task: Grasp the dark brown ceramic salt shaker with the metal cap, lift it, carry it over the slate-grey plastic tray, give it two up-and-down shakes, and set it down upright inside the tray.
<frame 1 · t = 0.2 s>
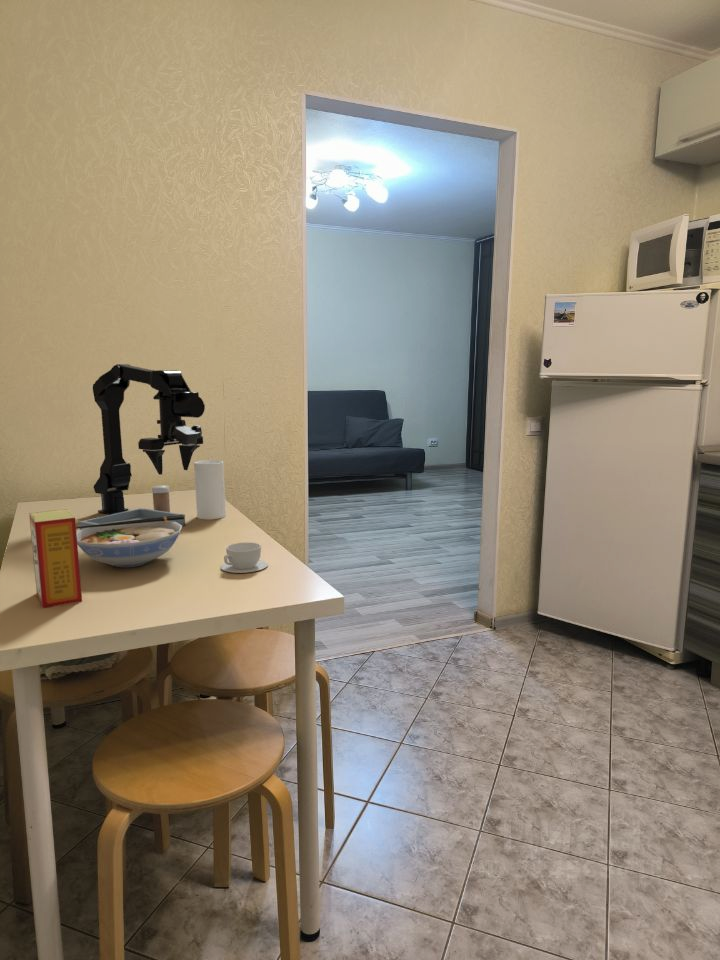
hand: (173, 472, 183), 14 cm above the table, fingers open, 9 cm apart
shaker: (162, 515, 193), on the table
tray: (133, 528, 176), on the table
teacup: (244, 568, 140), on the table
baking soda box: (59, 598, 123), on the table
cup: (211, 516, 191), on the table
ramen bowl: (130, 563, 144), on the table
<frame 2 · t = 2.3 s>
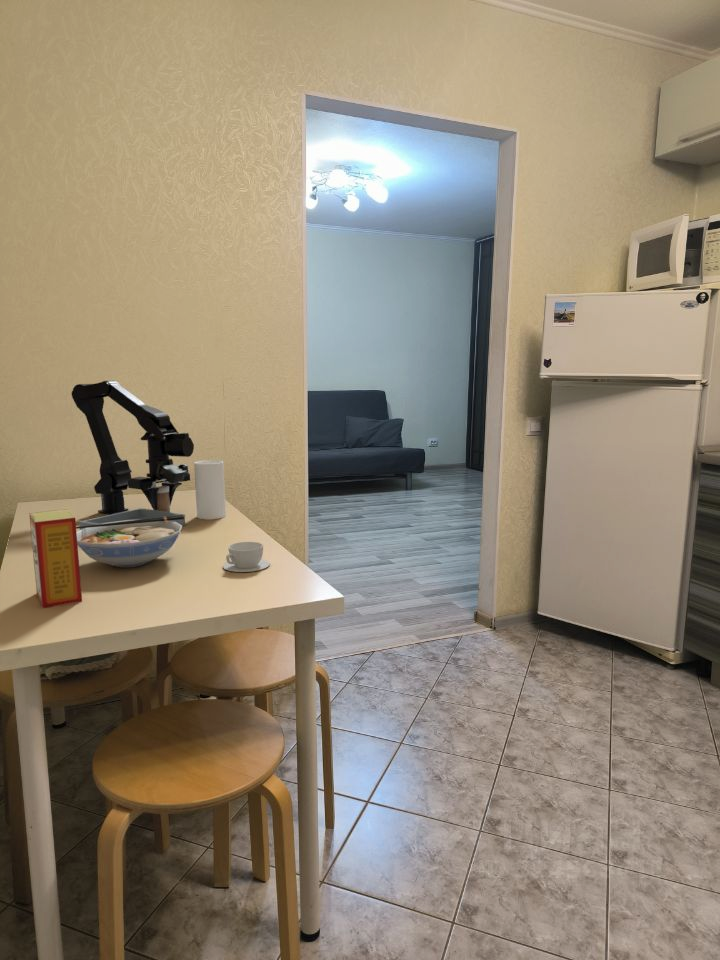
hand: (161, 508, 193), 2 cm above the table, fingers closed on shaker, 5 cm apart
shaker: (162, 515, 193), on the table, touching gripper
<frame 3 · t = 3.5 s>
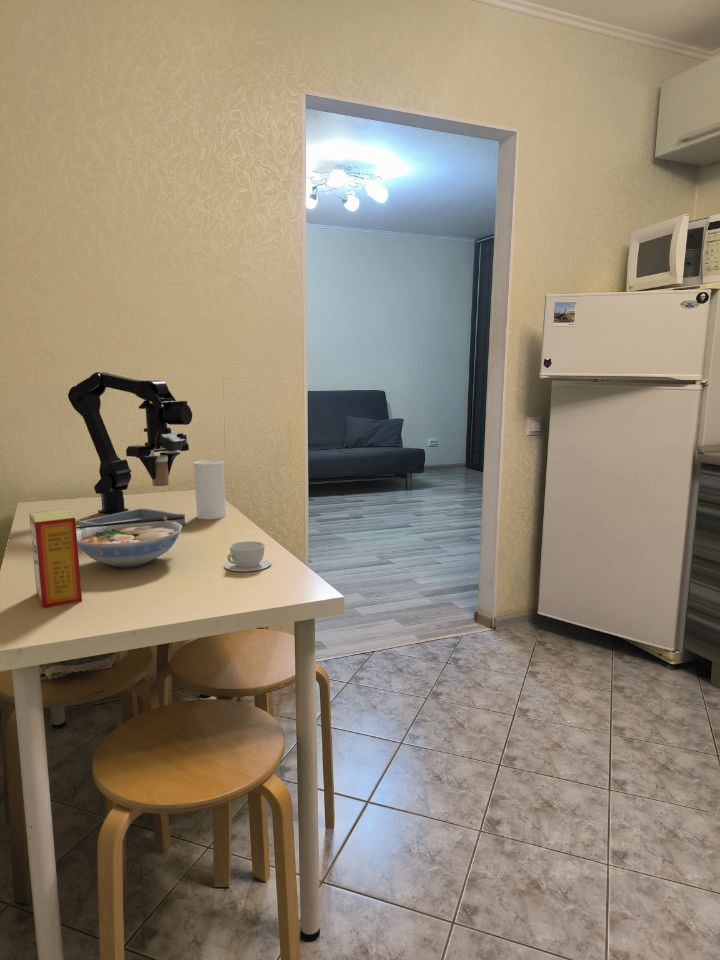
hand: (160, 477, 192), 11 cm above the table, fingers closed on shaker, 5 cm apart
shaker: (160, 484, 192), point 9 cm above the table, touching gripper
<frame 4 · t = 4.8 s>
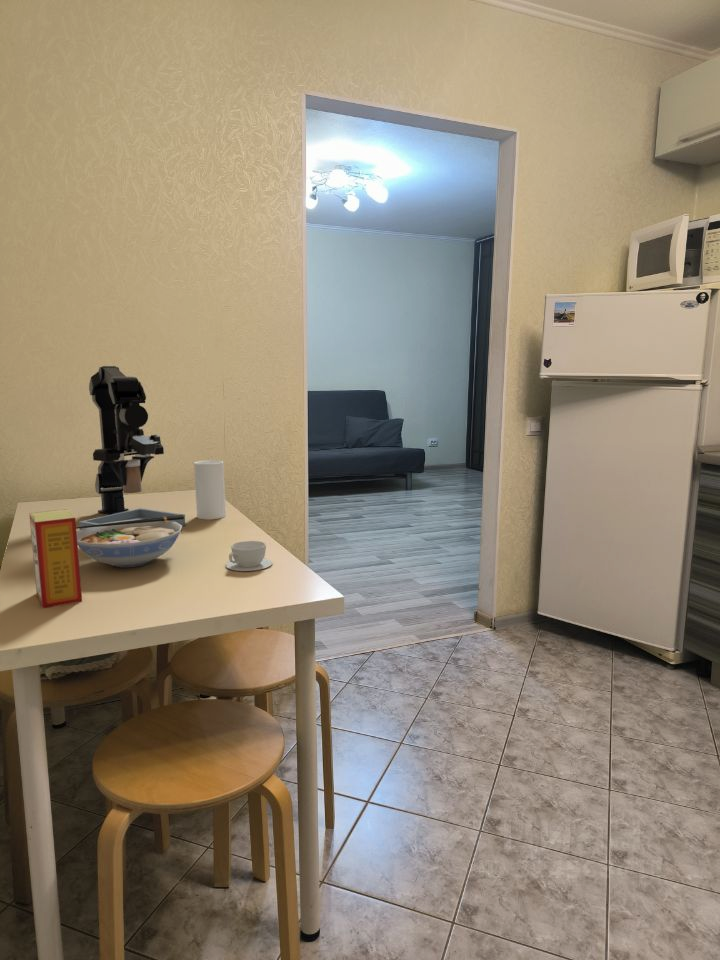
hand: (131, 484, 175), 12 cm above the table, fingers closed on shaker, 5 cm apart
shaker: (132, 491, 175), point 10 cm above the table, touching gripper
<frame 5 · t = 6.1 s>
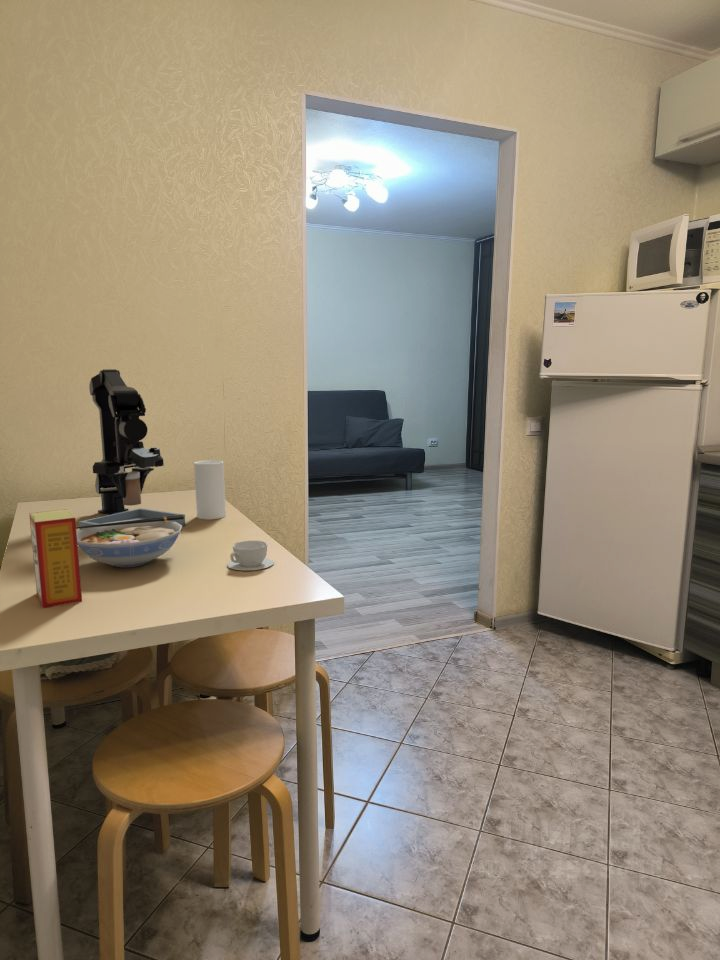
hand: (131, 496, 175), 9 cm above the table, fingers closed on shaker, 5 cm apart
shaker: (132, 503, 175), point 7 cm above the table, touching gripper
when the fingers open (4 cm above the table, at t = 7.2 s): shaker drops 1 cm, resting on tray.
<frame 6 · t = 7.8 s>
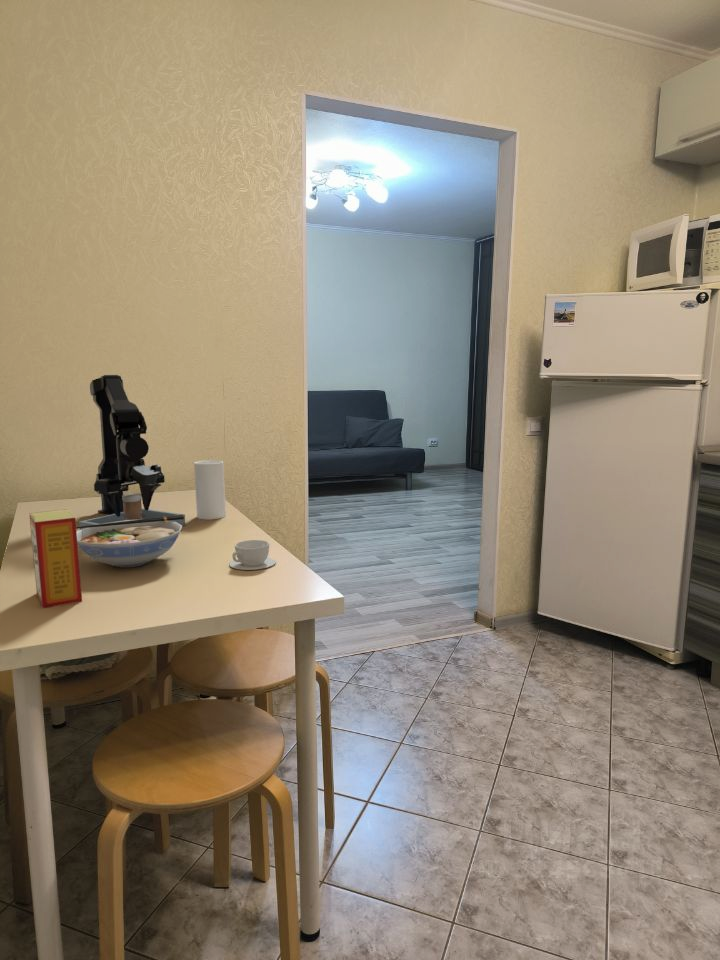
hand: (132, 513, 176), 4 cm above the table, fingers open, 9 cm apart
shaker: (133, 526, 176), point 1 cm above the table, touching tray
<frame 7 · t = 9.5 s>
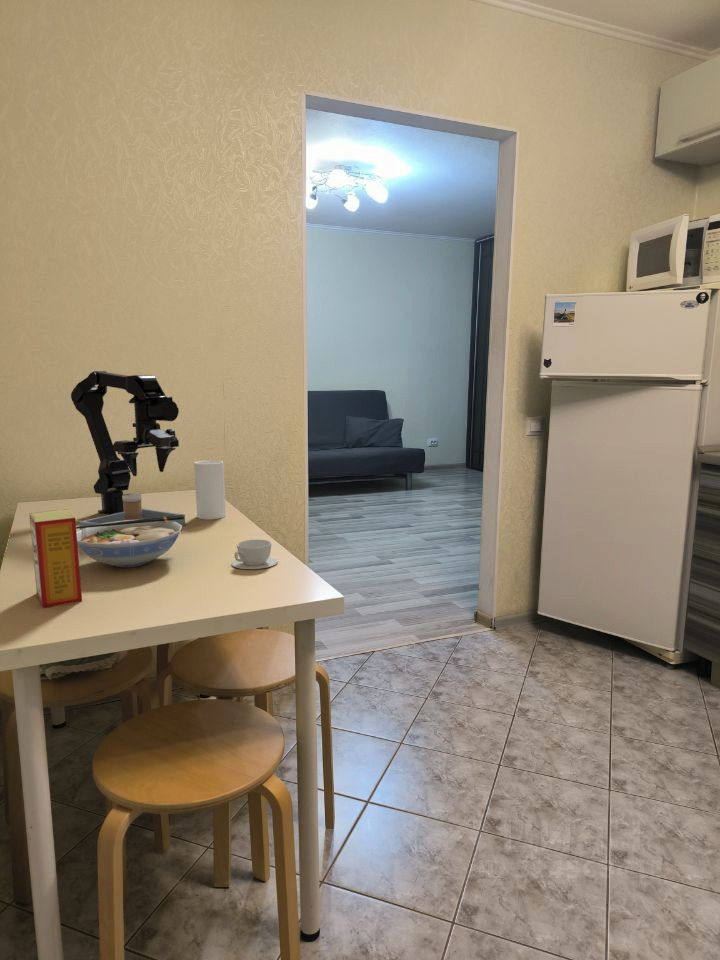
hand: (148, 474, 189), 13 cm above the table, fingers open, 9 cm apart
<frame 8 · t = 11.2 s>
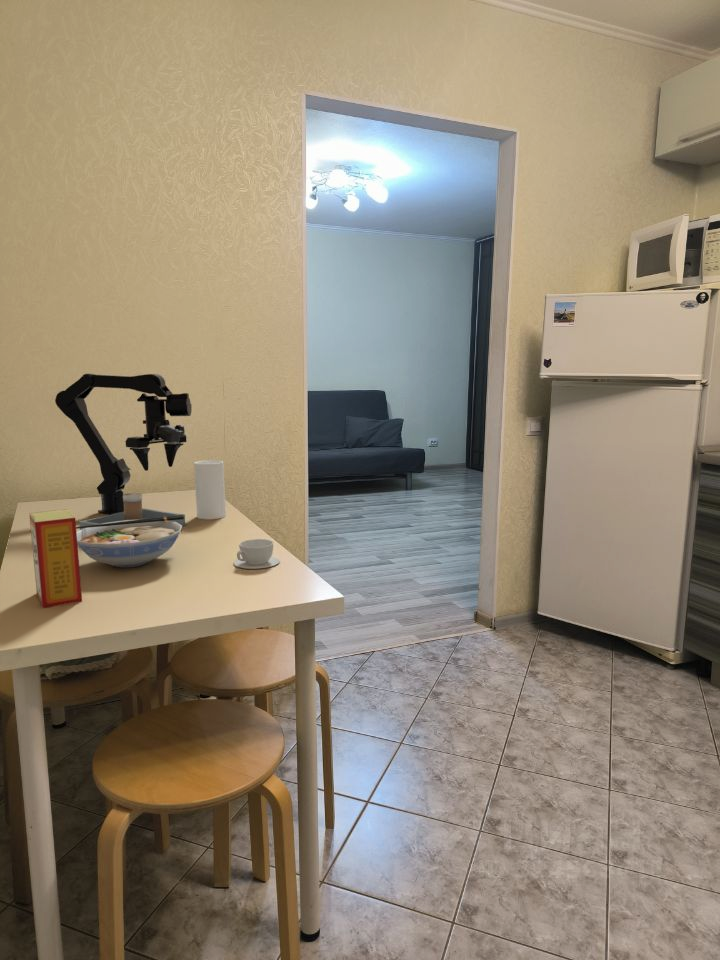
hand: (158, 468, 197), 13 cm above the table, fingers open, 9 cm apart
at the end: shaker inside the target area on the tray (0.1 cm from its centre), point 0.9 cm above the tray's base; shaker tilted 1°; the gripper is holding nothing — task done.
